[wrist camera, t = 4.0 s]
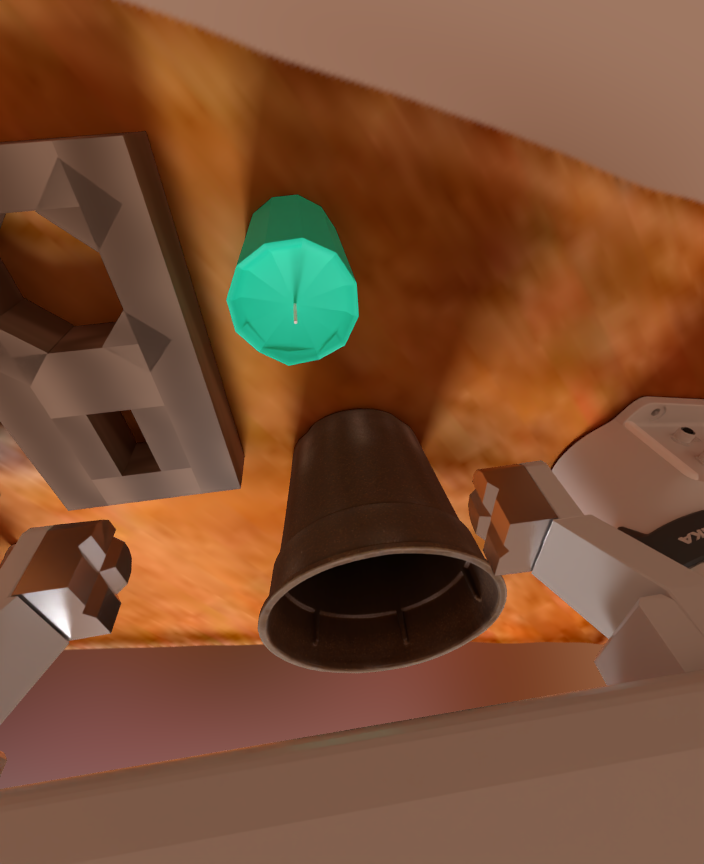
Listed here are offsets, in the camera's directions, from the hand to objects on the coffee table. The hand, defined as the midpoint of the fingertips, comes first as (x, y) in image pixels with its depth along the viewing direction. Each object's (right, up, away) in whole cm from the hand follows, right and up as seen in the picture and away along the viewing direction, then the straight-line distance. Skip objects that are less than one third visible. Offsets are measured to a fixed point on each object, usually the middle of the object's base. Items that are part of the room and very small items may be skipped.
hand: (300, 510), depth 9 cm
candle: (-3, +14, +17) cm, 23 cm away
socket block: (-16, +8, +20) cm, 27 cm away
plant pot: (+1, -1, +30) cm, 30 cm away
